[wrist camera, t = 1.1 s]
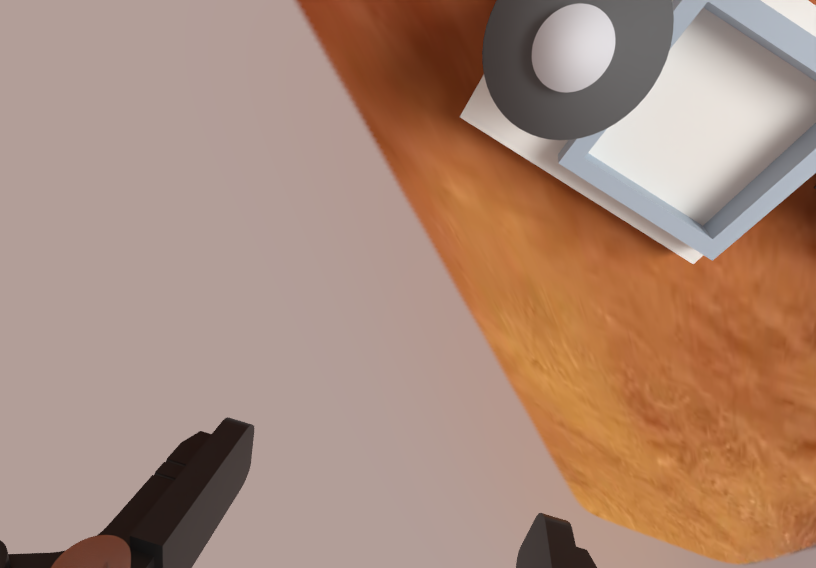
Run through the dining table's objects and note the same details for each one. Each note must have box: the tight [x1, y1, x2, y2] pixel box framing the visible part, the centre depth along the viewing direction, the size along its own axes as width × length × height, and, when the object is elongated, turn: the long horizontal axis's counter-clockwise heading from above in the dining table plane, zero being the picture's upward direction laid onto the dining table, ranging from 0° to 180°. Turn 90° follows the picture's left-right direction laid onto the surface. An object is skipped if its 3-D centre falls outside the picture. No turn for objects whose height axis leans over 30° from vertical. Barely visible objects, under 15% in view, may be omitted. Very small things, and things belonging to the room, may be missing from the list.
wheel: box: [482, 0, 674, 140], centre depth 19 cm, size 7×7×6 cm
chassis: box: [460, 0, 816, 264], centre depth 24 cm, size 13×18×6 cm
